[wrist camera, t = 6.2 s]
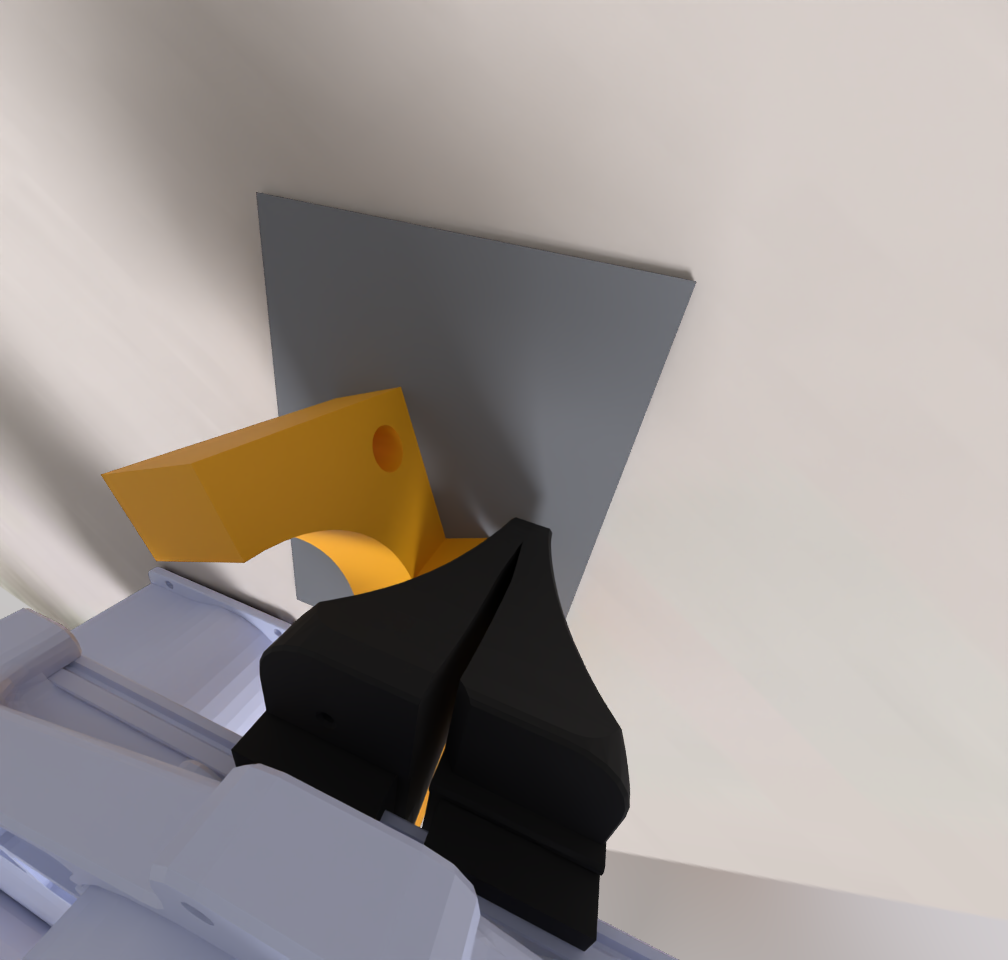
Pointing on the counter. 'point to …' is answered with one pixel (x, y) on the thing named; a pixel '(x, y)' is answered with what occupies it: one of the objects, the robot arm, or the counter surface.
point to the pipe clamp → (299, 494)
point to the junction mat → (471, 366)
